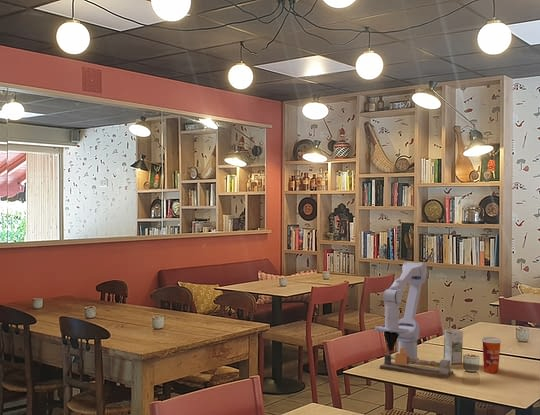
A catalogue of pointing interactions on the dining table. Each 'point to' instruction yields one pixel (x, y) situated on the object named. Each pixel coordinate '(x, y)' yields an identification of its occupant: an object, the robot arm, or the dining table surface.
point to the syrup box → (453, 345)
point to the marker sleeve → (402, 357)
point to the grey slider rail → (419, 367)
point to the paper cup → (491, 354)
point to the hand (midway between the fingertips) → (391, 350)
